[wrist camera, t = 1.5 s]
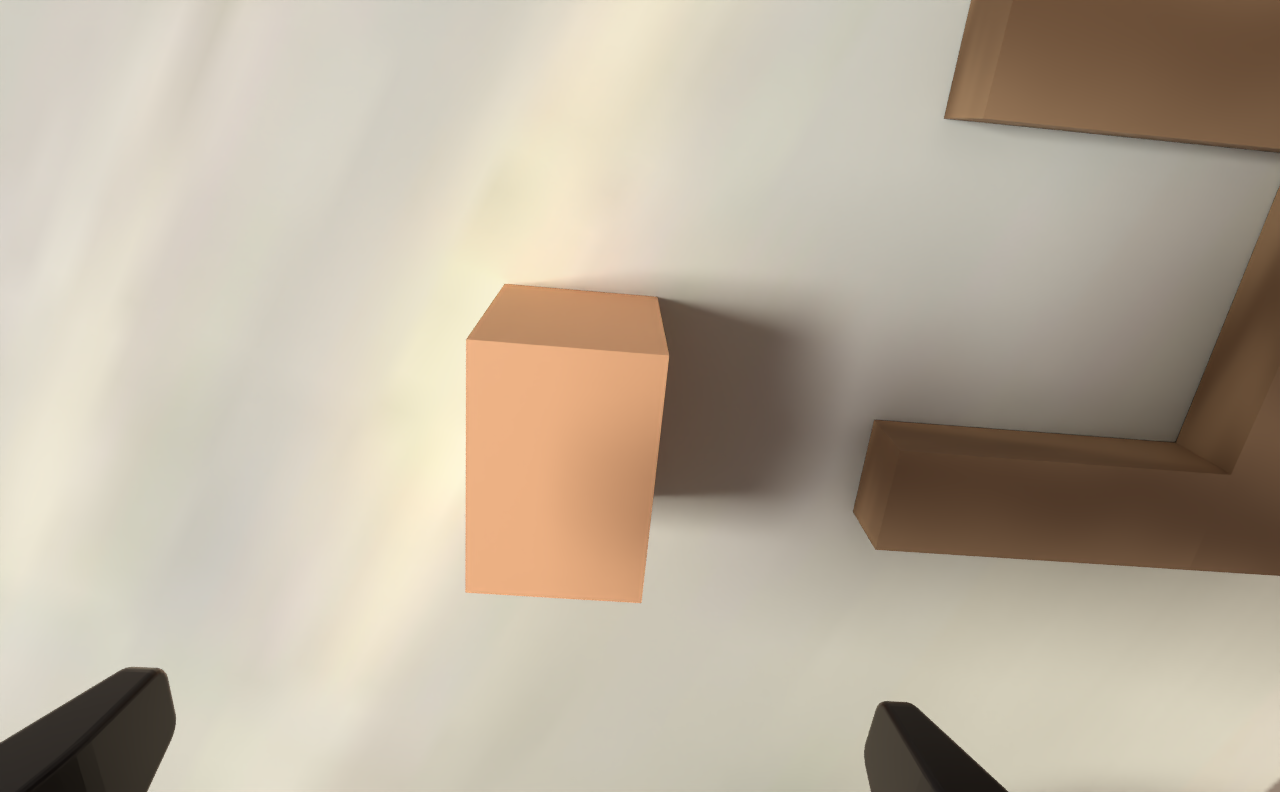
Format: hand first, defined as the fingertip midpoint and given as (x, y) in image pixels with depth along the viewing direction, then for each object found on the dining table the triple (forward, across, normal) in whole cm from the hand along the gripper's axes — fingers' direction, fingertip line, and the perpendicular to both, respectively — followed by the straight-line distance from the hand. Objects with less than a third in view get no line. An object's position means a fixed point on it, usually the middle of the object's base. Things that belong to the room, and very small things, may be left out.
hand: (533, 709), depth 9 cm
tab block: (+11, 0, 0) cm, 11 cm away
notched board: (+11, -15, -4) cm, 19 cm away
